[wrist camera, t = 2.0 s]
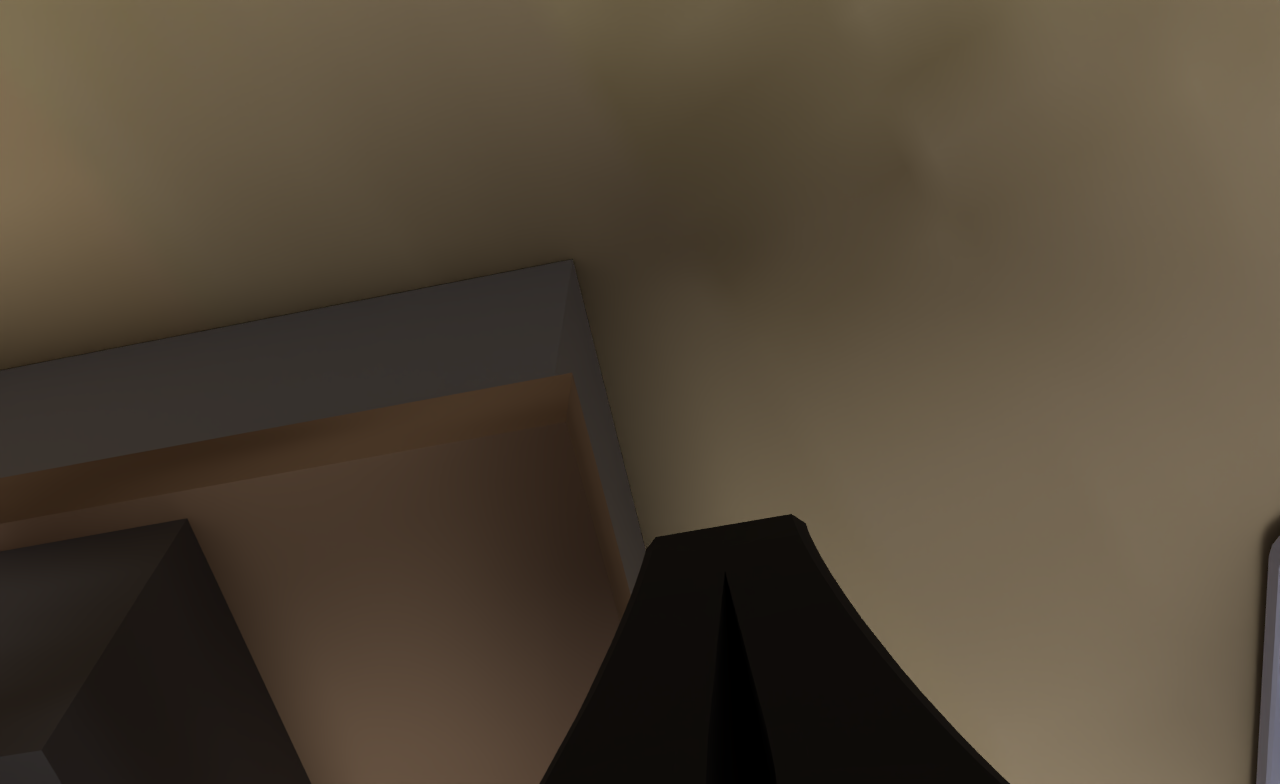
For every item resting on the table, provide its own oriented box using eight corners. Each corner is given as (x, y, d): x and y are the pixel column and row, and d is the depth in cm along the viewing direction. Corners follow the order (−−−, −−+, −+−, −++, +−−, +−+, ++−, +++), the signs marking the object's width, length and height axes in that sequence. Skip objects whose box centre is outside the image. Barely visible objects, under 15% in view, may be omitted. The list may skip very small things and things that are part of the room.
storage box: (572, 259, 15) (551, 394, 12) (727, 877, 21) (743, 1090, 17) (-253, 420, 16) (-487, 584, 13) (100, 963, 22) (0, 1179, 18)
